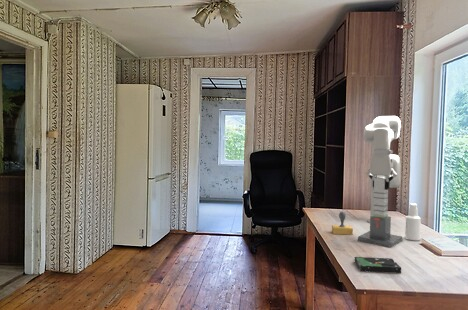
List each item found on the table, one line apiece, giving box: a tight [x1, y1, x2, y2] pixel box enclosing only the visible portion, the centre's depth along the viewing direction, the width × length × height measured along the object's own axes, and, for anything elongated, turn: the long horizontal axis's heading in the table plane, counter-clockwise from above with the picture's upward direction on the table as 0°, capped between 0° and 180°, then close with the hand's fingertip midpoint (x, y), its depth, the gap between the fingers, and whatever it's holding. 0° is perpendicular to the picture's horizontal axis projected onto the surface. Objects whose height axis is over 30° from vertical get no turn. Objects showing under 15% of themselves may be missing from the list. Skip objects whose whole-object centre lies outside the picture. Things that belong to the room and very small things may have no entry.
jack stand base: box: [357, 215, 403, 248], centre depth 165 cm, size 16×16×12 cm
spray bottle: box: [405, 202, 422, 241], centre depth 168 cm, size 7×7×18 cm
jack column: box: [373, 177, 389, 219], centre depth 164 cm, size 5×5×22 cm
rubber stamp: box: [331, 211, 354, 236], centre depth 178 cm, size 10×6×12 cm, turn 84°
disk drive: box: [354, 256, 402, 274], centre depth 129 cm, size 10×3×15 cm
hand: (381, 188), depth 164 cm, fingers closed on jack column, 5 cm apart
